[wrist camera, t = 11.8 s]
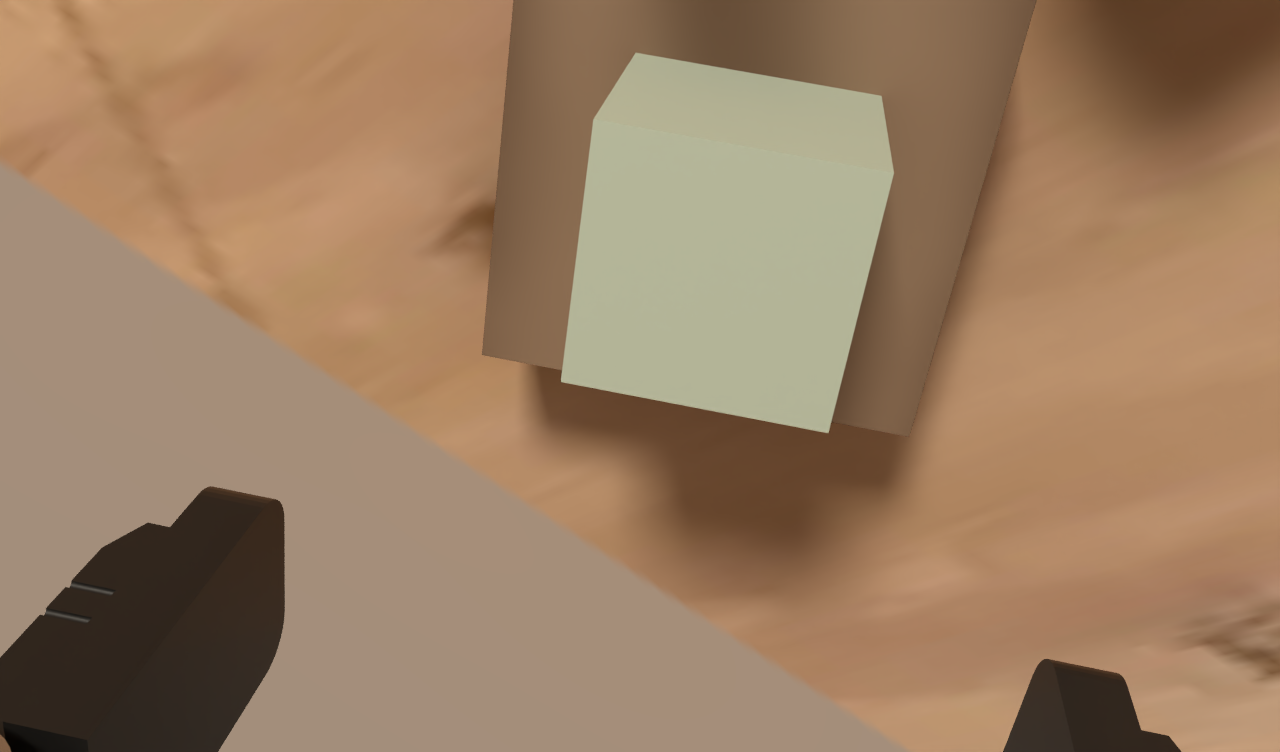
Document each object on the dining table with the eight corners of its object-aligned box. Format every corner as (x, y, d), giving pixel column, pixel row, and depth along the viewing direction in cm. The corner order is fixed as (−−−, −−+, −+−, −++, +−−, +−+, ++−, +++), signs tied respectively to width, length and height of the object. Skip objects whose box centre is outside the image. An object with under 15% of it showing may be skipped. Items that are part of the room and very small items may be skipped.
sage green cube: (881, 95, 24) (893, 172, 20) (828, 319, 26) (828, 433, 22) (635, 52, 24) (593, 119, 20) (604, 277, 27) (560, 381, 22)
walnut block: (1010, -44, 26) (1040, -12, 23) (899, 358, 31) (909, 437, 27) (562, -120, 27) (522, -101, 23) (520, 287, 31) (482, 354, 28)
